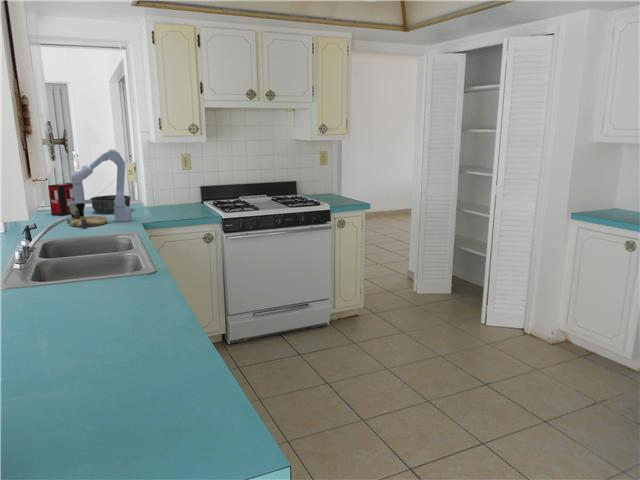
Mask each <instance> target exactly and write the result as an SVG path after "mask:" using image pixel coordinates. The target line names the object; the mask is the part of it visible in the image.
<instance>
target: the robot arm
mask: <svg viewBox="0 0 640 480" xmlns="http://www.w3.org/2000/svg"><path fill="white" fill-rule="evenodd" d="M107 161H108V162H109V161H110V162H113V164H115V166H117V167H116V168H117V169H116V189H115V190H116V191H115V195H116V197H115V199H114V204H115V206H114V220H113V219H112V222H130V221H131V220H133V218H132V208H131V206H129V207H127V206H126V205H125V198H124V195H125V176H126V173H125V172H126V162H125V160H124V159H123V157H122V156H121V154H120V153H119V152H118V151H117V150H116V149H109V150H108V151H106V152H104V153H102V154H101V155H100V156H99V157H97V158H96V159H95V160H94V161H92V162H91V163H90V164H89V165H87V164H86V165H83V166H81V168H80V169H79V170H78V171H76V172H75V174H73V175H72V177H71V183H73V193H74V201H73V202H67V206H70V205H75V206H76V207H77V209H78V211H80V216H83V210H84V211H85V207H86V204H92V200H90V199H85V191H84V185H83V181H84V180H86V179H87V178H88V177H90V176H91V175H92V174H93V173H94V169H95V168H96V167H98V166H100V164H102V163H103V162H107Z"/></svg>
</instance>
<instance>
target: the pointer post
mask: <svg viewBox="0 0 640 480" xmlns="http://www.w3.org/2000/svg"><path fill="white" fill-rule="evenodd" d="M81 223H82V227H81V229H83V230H84V229H87V228H88V226H87V220H86V219H82V220H81Z"/></svg>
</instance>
